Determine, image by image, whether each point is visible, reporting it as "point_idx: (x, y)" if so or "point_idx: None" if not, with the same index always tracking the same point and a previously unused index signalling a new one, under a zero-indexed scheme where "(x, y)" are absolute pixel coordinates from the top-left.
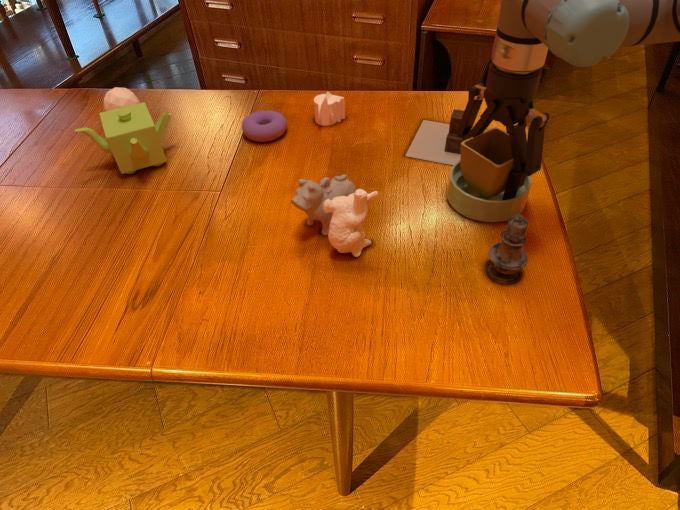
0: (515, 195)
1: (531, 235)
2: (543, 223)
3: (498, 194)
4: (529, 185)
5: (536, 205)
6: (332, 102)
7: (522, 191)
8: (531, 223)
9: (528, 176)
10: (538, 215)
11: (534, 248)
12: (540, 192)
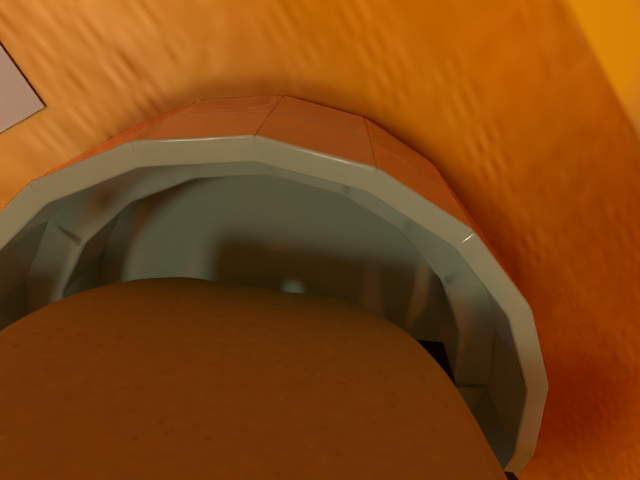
0: (445, 359)
1: (586, 371)
2: (614, 273)
3: (309, 262)
4: (525, 344)
5: (526, 167)
6: None
7: (452, 269)
8: (557, 309)
9: (469, 258)
10: (568, 236)
11: (624, 421)
12: (497, 19)
